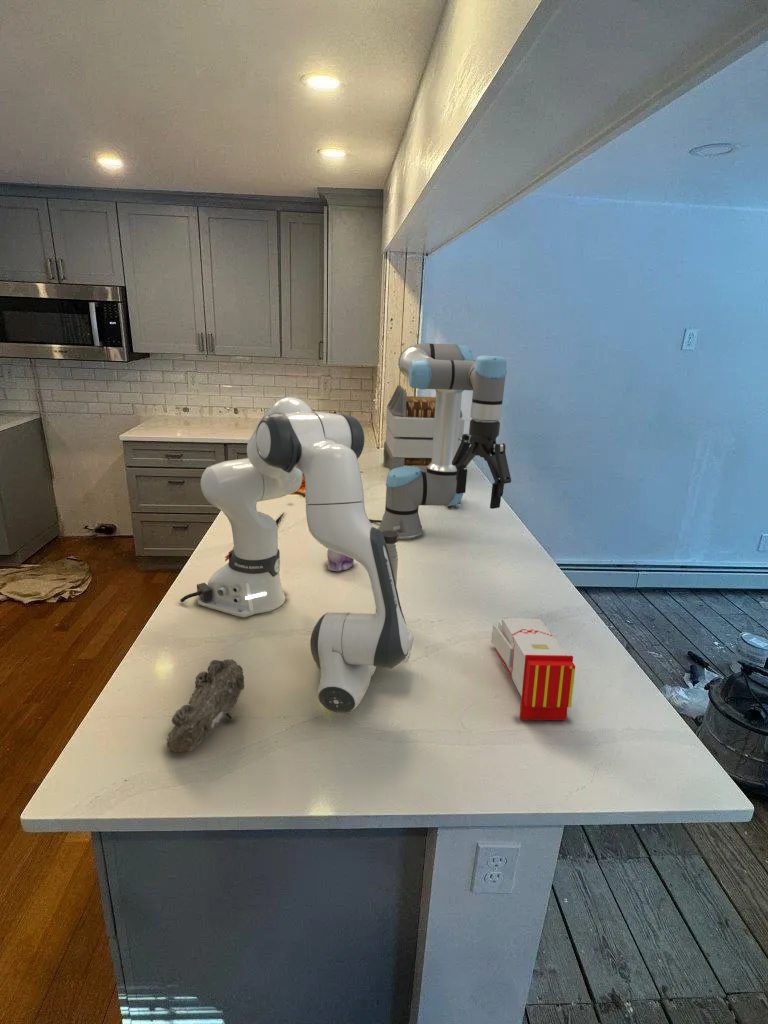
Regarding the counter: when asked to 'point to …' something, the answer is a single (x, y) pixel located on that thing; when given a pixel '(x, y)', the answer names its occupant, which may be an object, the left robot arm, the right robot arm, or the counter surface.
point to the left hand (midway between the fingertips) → (374, 621)
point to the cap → (390, 536)
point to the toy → (535, 667)
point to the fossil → (206, 705)
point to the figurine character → (455, 505)
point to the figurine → (338, 561)
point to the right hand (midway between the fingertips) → (477, 500)
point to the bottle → (393, 559)
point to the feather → (279, 518)
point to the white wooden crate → (410, 430)
